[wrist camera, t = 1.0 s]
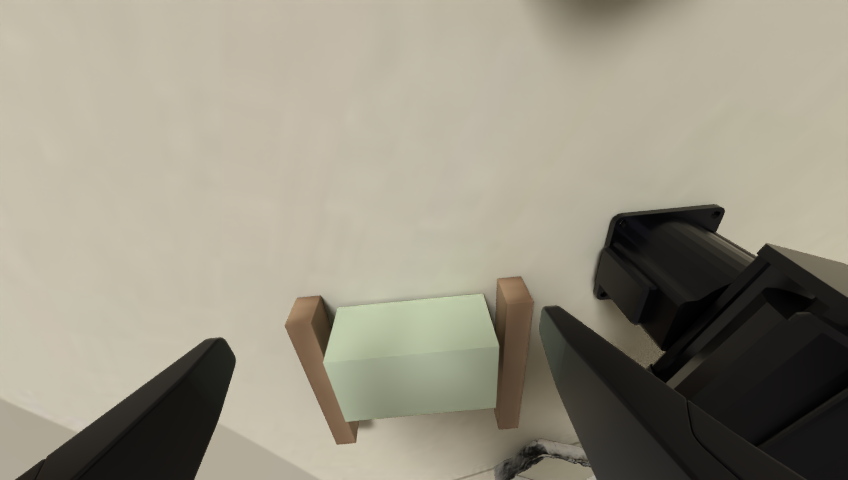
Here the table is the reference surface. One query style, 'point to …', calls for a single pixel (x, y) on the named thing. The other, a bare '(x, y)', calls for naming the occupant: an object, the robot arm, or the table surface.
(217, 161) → the table surface
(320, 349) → the chute rails
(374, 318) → the block
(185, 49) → the table surface
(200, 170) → the table surface
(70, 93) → the table surface
